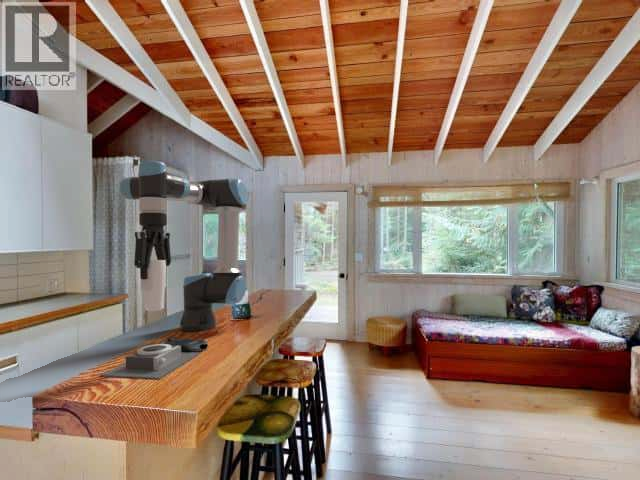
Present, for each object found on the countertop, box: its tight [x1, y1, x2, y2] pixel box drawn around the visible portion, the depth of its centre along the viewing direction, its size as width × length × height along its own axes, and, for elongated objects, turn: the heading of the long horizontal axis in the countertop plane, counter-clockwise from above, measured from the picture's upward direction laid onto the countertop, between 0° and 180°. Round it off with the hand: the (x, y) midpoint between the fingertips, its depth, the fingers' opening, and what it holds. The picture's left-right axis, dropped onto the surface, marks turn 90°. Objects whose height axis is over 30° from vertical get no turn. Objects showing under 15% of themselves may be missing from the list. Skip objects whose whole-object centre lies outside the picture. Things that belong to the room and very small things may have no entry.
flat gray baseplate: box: [99, 343, 202, 380], centre depth 106 cm, size 22×18×5 cm
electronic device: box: [160, 337, 209, 353], centre depth 122 cm, size 9×6×15 cm
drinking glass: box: [142, 259, 167, 312], centre depth 107 cm, size 7×7×15 cm
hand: (154, 288), depth 107 cm, fingers closed on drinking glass, 7 cm apart
